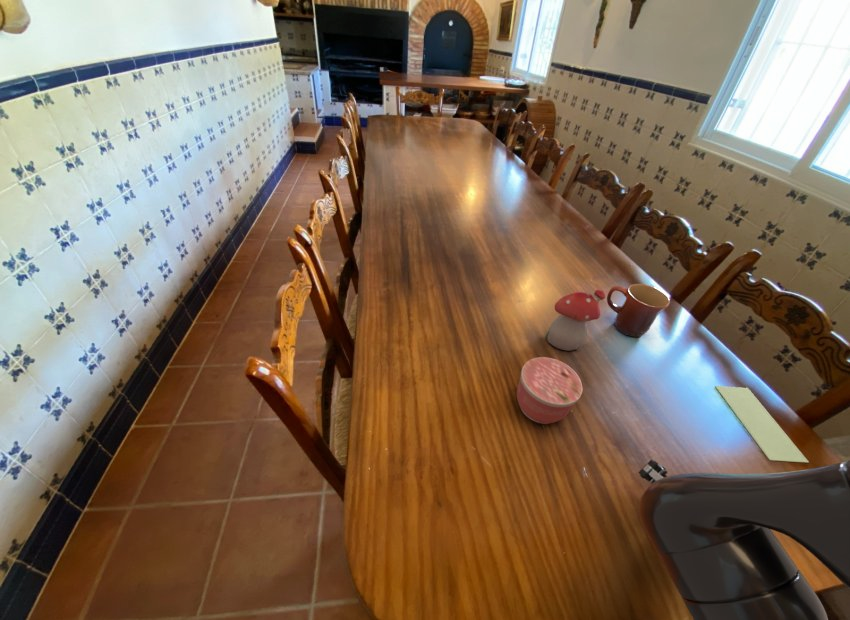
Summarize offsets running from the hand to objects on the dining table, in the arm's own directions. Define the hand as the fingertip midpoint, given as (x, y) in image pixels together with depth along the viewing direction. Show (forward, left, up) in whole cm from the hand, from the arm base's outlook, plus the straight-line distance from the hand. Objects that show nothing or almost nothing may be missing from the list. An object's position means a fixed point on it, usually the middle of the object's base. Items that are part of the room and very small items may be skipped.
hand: (693, 503), depth 50 cm
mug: (+33, -30, -6) cm, 45 cm away
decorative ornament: (+35, -12, -6) cm, 38 cm away
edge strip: (+3, -32, -5) cm, 32 cm away
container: (+24, +5, -6) cm, 25 cm away
